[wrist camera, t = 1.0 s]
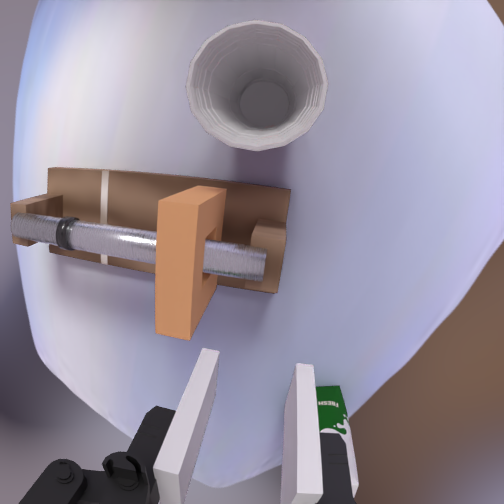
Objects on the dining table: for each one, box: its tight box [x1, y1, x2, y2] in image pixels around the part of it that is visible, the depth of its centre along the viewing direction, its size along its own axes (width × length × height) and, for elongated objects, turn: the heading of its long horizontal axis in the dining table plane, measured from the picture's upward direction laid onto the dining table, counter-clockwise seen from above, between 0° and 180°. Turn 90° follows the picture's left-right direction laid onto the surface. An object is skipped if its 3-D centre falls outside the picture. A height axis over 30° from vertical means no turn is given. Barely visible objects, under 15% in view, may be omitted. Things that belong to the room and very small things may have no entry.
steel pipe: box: [11, 212, 267, 282], centre depth 29 cm, size 4×29×4 cm, turn 83°
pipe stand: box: [11, 167, 291, 294], centre depth 33 cm, size 12×32×9 cm, turn 83°
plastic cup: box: [186, 20, 328, 151], centre depth 27 cm, size 11×11×12 cm
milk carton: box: [316, 386, 359, 498], centre depth 34 cm, size 9×9×20 cm
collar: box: [155, 185, 227, 341], centre depth 29 cm, size 11×3×11 cm, turn 173°
